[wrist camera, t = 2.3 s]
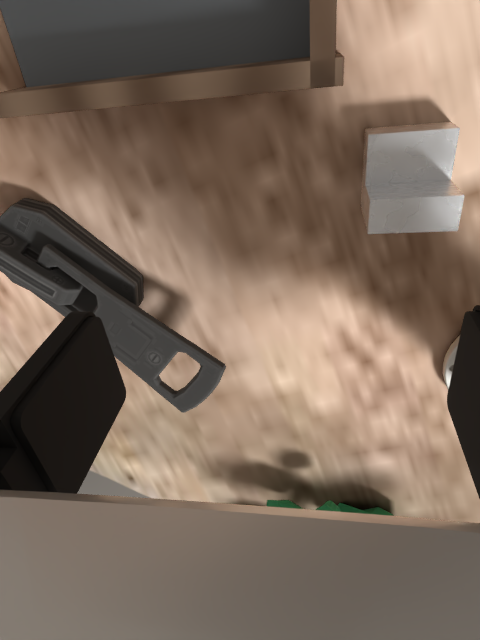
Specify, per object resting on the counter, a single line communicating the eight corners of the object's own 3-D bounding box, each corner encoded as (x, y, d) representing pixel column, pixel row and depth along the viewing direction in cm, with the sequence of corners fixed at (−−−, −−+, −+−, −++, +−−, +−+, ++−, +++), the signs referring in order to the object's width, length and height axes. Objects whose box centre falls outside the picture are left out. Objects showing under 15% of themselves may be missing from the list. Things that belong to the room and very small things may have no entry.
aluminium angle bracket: (450, 121, 31) (475, 138, 26) (437, 201, 34) (457, 230, 29) (365, 127, 32) (373, 145, 27) (360, 205, 35) (367, 234, 30)
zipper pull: (185, 421, 43) (-52, 285, 38) (199, 377, 49) (-6, 253, 43) (234, 371, 39) (-29, 207, 33) (244, 329, 44) (19, 182, 38)
